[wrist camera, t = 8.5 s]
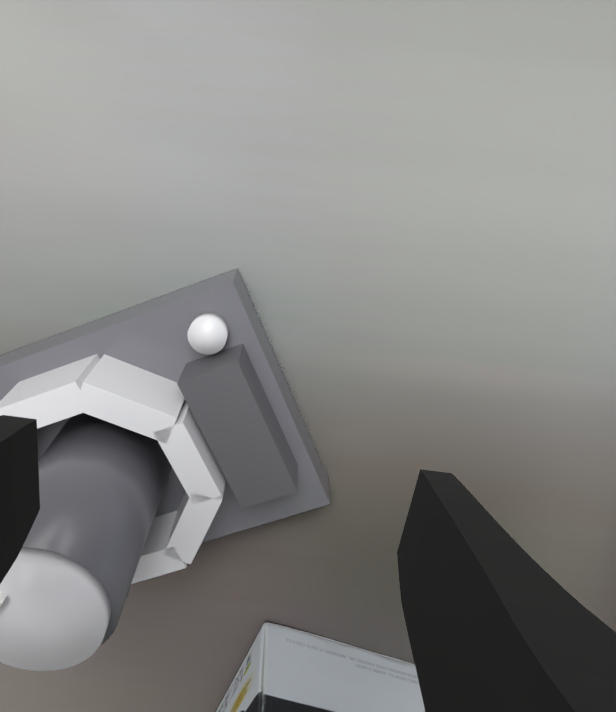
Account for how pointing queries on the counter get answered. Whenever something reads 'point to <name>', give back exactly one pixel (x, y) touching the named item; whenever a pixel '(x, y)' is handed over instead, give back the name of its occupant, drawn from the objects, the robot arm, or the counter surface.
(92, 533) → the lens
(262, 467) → the grey square plate
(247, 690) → the tea box
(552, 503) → the counter surface
